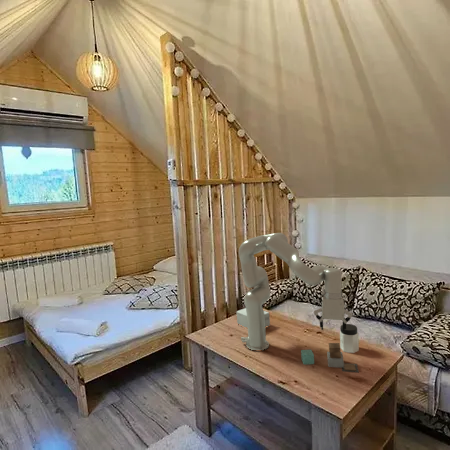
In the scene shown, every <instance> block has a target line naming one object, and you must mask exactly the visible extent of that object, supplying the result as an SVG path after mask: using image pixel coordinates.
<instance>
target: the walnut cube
mask: <svg viewBox="0 0 450 450" xmlns="http://www.w3.org/2000/svg"><path fill="white" fill-rule="evenodd" d="M328 350H329V351H328V352H330V358H341V352H342V349H341V348H340V342H328Z"/></svg>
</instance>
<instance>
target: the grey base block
mask: <svg viewBox="0 0 450 450" xmlns="http://www.w3.org/2000/svg"><path fill="white" fill-rule="evenodd" d="M326 352H327V353H326V355H327V366H328V368H342V367H344V363H345V362H344V356H343V355H344V354H343V351H341V358H330V352H329V351H326Z"/></svg>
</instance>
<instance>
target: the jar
mask: <svg viewBox="0 0 450 450" xmlns="http://www.w3.org/2000/svg"><path fill="white" fill-rule="evenodd" d="M342 327H343V324H341V325H340V327H339V328H340V329H339V330H340V331H339V343H340V350H341V351H342V352H344V353H347V354H348V353H349V354H355V353H357V352H359V351H360V349H359V348H360V347H359V333H358V327H357V325H356V324H355V325H354V324H351V323H346V329H345V332H343V329H342Z"/></svg>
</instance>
